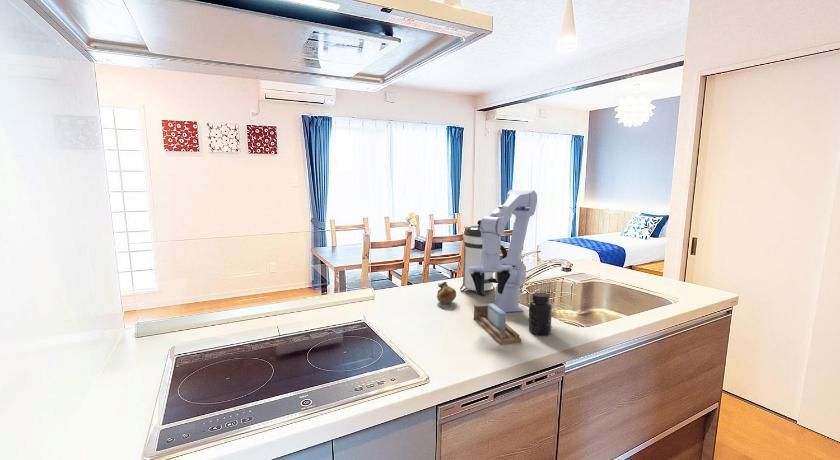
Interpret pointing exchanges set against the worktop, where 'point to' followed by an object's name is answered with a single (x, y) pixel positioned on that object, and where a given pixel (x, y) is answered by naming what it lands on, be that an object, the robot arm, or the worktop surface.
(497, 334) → the door track
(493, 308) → the light blue flat block
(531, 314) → the supplement bottle
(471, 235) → the coffee press
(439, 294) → the onion
